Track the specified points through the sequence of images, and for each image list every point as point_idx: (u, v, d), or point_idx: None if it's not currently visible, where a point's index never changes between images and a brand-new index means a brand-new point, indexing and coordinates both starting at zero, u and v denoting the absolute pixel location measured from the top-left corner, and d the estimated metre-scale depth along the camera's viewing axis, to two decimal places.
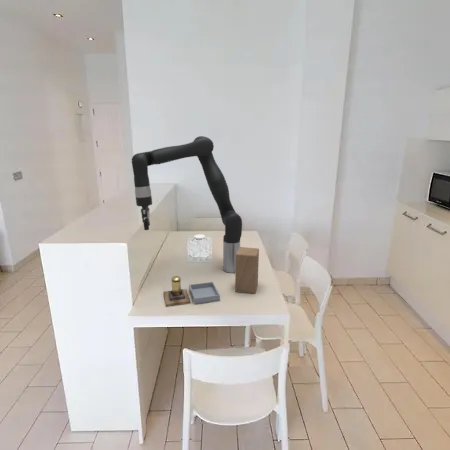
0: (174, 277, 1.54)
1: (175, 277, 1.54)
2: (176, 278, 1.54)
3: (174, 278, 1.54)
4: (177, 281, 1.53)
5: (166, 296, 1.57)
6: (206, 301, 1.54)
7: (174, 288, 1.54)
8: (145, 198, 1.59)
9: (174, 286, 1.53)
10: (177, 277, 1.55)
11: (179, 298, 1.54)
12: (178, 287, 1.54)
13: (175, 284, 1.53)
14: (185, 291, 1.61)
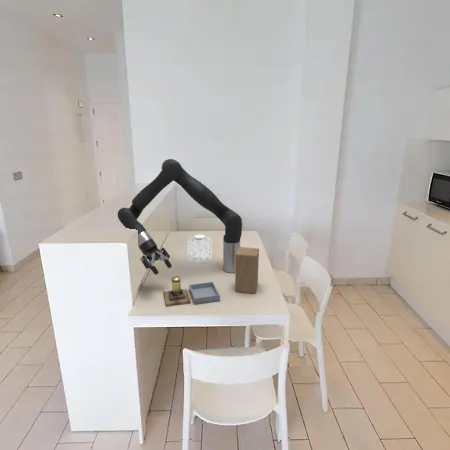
0: (174, 277, 1.54)
1: (175, 277, 1.54)
2: (176, 278, 1.54)
3: (174, 278, 1.54)
4: (177, 281, 1.53)
5: (166, 296, 1.57)
6: (206, 301, 1.54)
7: (174, 288, 1.54)
8: (141, 245, 1.57)
9: (174, 286, 1.53)
10: (177, 277, 1.55)
11: (179, 298, 1.54)
12: (178, 287, 1.54)
13: (175, 284, 1.53)
14: (185, 291, 1.61)
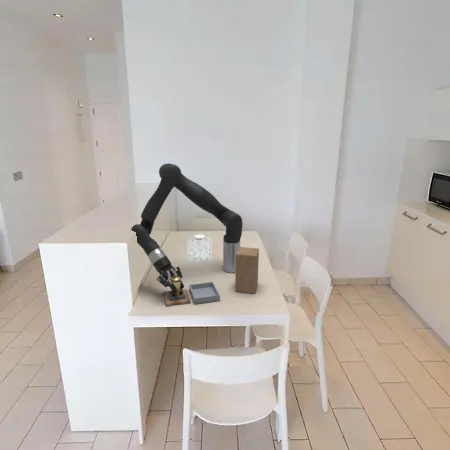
0: (174, 277, 1.54)
1: (175, 277, 1.54)
2: (176, 278, 1.54)
3: (174, 278, 1.54)
4: (177, 281, 1.53)
5: (166, 296, 1.57)
6: (206, 301, 1.54)
7: None
8: (156, 262, 1.54)
9: None
10: (177, 277, 1.55)
11: (179, 298, 1.54)
12: (178, 287, 1.54)
13: (175, 284, 1.53)
14: (185, 291, 1.61)
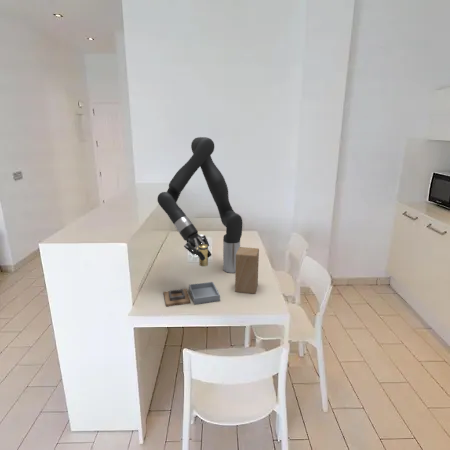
0: (201, 245, 1.53)
1: (202, 245, 1.53)
2: (203, 246, 1.52)
3: (201, 246, 1.52)
4: (205, 248, 1.51)
5: (166, 296, 1.57)
6: (206, 301, 1.54)
7: None
8: (183, 230, 1.53)
9: None
10: (204, 245, 1.53)
11: (179, 298, 1.54)
12: (205, 255, 1.52)
13: (203, 251, 1.52)
14: (185, 291, 1.61)
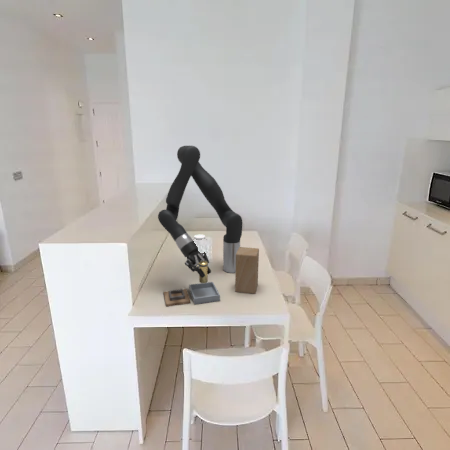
0: (201, 262, 1.55)
1: (202, 262, 1.55)
2: (204, 263, 1.54)
3: (202, 263, 1.54)
4: (205, 266, 1.54)
5: (166, 296, 1.57)
6: (206, 301, 1.54)
7: None
8: (183, 247, 1.55)
9: None
10: (204, 262, 1.55)
11: (179, 298, 1.54)
12: (205, 272, 1.55)
13: (203, 269, 1.54)
14: (185, 291, 1.61)
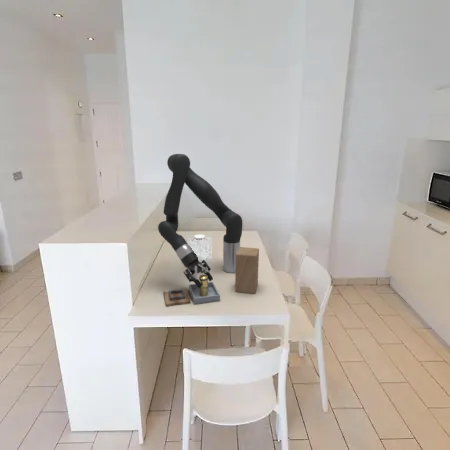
0: (202, 276, 1.58)
1: (203, 276, 1.58)
2: (204, 277, 1.57)
3: (202, 277, 1.57)
4: (205, 280, 1.56)
5: (166, 296, 1.57)
6: (206, 301, 1.54)
7: (202, 286, 1.57)
8: (184, 258, 1.57)
9: (202, 284, 1.56)
10: (204, 276, 1.58)
11: (179, 298, 1.54)
12: (206, 285, 1.57)
13: (203, 282, 1.56)
14: (185, 291, 1.61)
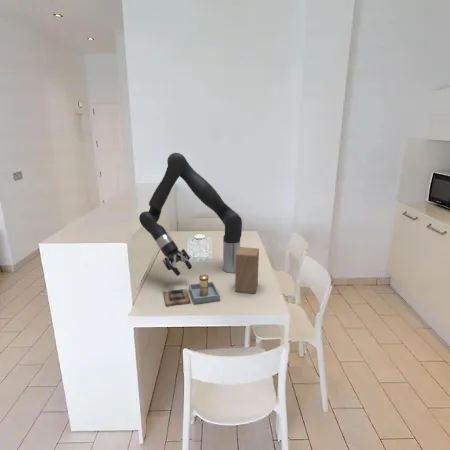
0: (202, 276, 1.57)
1: (203, 276, 1.58)
2: (204, 277, 1.57)
3: (202, 277, 1.57)
4: (205, 280, 1.56)
5: (166, 296, 1.57)
6: (206, 301, 1.54)
7: (202, 286, 1.57)
8: (163, 247, 1.63)
9: (202, 284, 1.56)
10: (205, 276, 1.58)
11: (179, 298, 1.54)
12: (206, 285, 1.57)
13: (204, 282, 1.56)
14: (185, 291, 1.61)
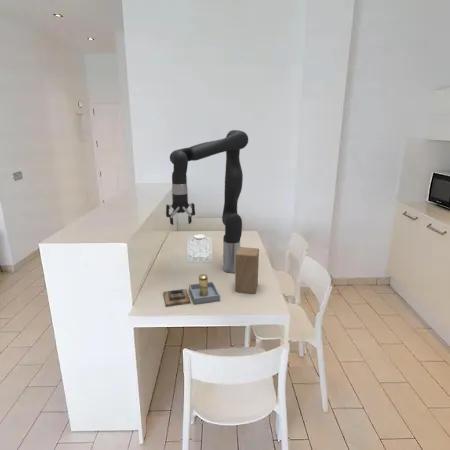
0: (201, 275, 1.58)
1: (202, 275, 1.58)
2: (203, 276, 1.57)
3: (201, 276, 1.57)
4: (205, 279, 1.56)
5: (166, 296, 1.57)
6: (206, 301, 1.54)
7: (202, 286, 1.57)
8: (172, 195, 1.62)
9: (202, 284, 1.57)
10: (204, 275, 1.58)
11: (179, 298, 1.54)
12: (206, 285, 1.57)
13: (203, 282, 1.56)
14: (185, 291, 1.61)
